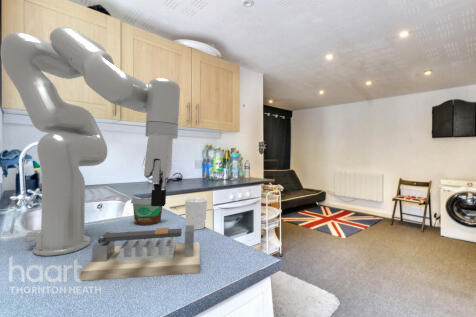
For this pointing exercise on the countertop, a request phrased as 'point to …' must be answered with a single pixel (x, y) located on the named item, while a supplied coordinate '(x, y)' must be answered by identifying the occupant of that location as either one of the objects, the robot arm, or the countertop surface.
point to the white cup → (196, 212)
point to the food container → (146, 212)
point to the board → (143, 266)
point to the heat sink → (143, 250)
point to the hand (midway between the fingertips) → (158, 205)
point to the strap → (140, 235)
